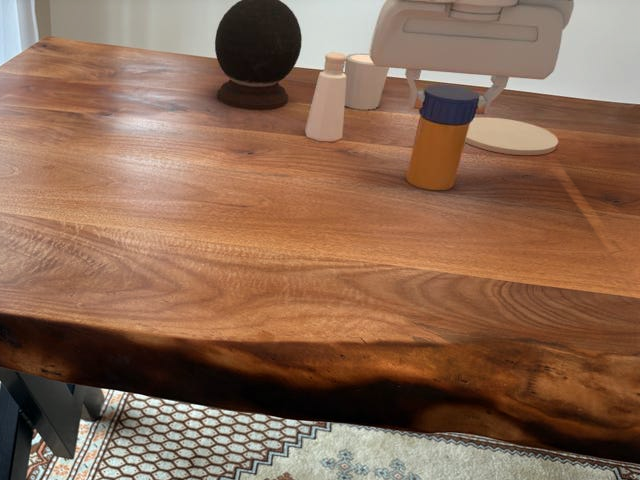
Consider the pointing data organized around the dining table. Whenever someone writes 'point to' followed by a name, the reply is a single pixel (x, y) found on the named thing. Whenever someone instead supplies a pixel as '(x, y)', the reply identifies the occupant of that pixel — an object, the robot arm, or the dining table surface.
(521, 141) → the disc
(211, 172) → the dining table surface
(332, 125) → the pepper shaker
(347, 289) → the dining table surface
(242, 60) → the ball on pedestal
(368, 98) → the white tapered cup
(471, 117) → the lid
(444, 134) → the jar
